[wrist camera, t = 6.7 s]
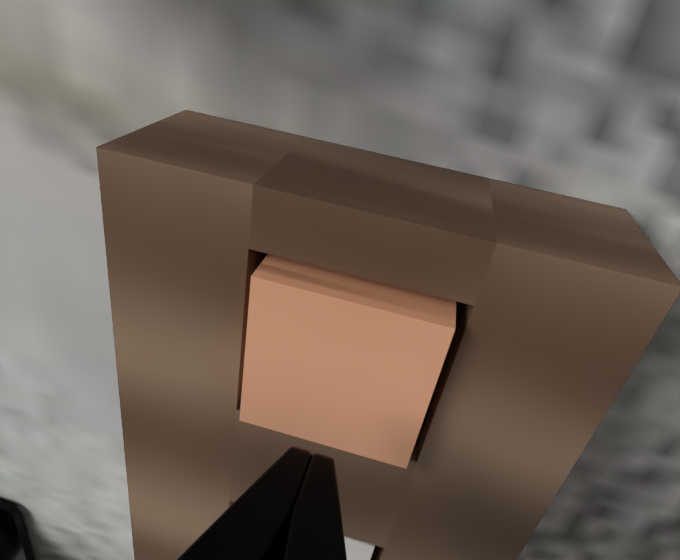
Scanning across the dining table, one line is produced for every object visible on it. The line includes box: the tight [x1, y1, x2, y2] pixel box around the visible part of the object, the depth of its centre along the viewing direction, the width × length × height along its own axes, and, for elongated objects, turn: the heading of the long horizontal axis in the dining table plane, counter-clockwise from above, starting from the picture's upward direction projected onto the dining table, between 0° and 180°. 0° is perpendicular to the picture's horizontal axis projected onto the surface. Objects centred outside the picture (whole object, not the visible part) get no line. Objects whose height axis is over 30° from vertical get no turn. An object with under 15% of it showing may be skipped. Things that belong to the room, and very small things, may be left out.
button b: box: [239, 254, 456, 469], centre depth 13 cm, size 4×4×4 cm
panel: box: [96, 110, 680, 560], centre depth 16 cm, size 17×12×4 cm
